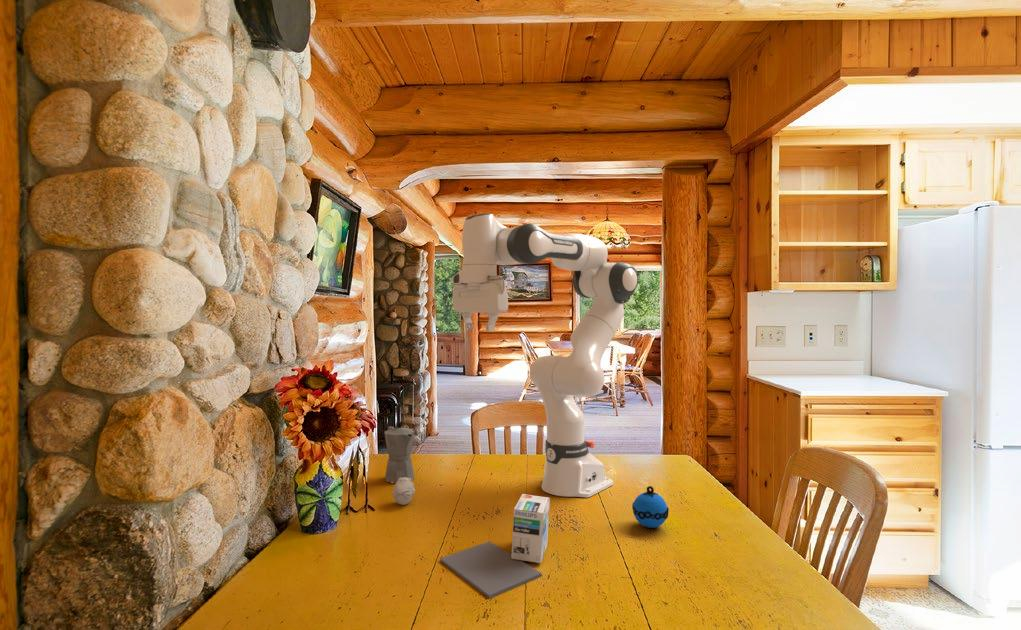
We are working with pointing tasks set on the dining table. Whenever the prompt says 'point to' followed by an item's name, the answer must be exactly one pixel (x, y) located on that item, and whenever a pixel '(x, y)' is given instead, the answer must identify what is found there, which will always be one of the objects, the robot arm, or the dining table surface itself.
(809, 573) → the dining table surface
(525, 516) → the light bulb box
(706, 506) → the dining table surface
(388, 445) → the coffeepot
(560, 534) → the dining table surface
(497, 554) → the mat
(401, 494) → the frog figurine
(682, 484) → the dining table surface
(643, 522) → the ornament
